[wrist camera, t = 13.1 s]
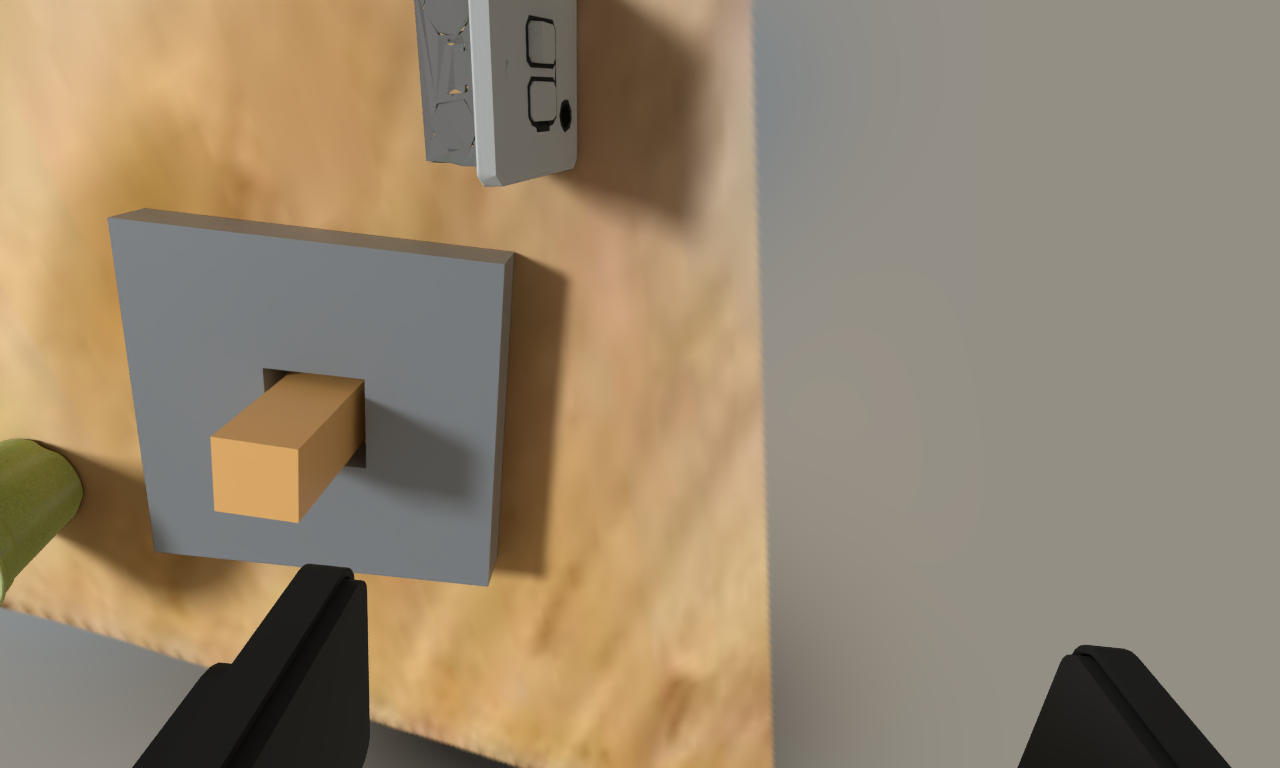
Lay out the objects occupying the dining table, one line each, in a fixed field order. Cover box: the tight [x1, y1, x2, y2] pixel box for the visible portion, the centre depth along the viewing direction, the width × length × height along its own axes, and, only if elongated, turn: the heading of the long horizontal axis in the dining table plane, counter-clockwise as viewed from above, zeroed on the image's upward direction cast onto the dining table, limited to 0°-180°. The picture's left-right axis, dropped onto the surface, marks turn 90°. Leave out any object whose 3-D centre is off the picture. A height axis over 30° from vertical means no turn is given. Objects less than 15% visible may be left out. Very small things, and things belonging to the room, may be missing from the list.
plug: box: [210, 371, 366, 523], centre depth 40 cm, size 4×4×10 cm
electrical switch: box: [414, 0, 577, 186], centre depth 34 cm, size 9×5×9 cm, turn 178°
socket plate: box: [108, 208, 514, 587], centre depth 44 cm, size 20×20×3 cm
